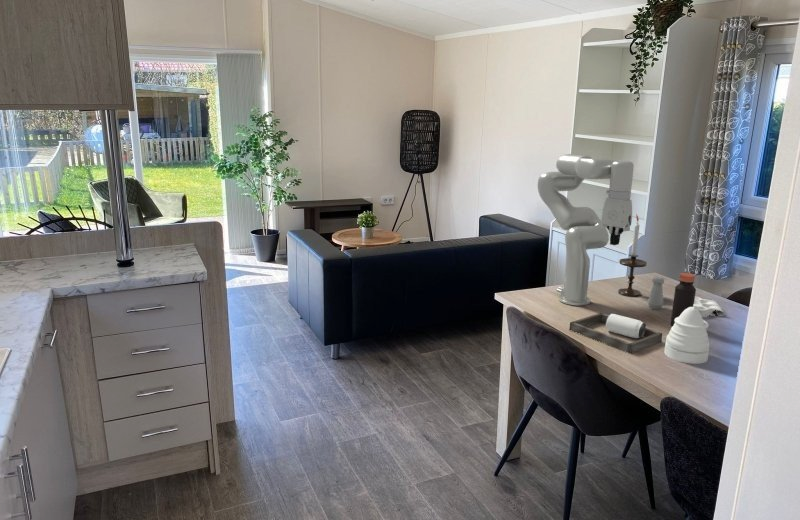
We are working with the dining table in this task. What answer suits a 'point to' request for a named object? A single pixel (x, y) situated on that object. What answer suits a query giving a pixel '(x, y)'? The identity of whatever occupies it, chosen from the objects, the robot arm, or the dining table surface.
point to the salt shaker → (656, 294)
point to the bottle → (683, 295)
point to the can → (625, 326)
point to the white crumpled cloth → (708, 307)
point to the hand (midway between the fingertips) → (614, 244)
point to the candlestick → (632, 265)
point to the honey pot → (688, 337)
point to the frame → (579, 327)
